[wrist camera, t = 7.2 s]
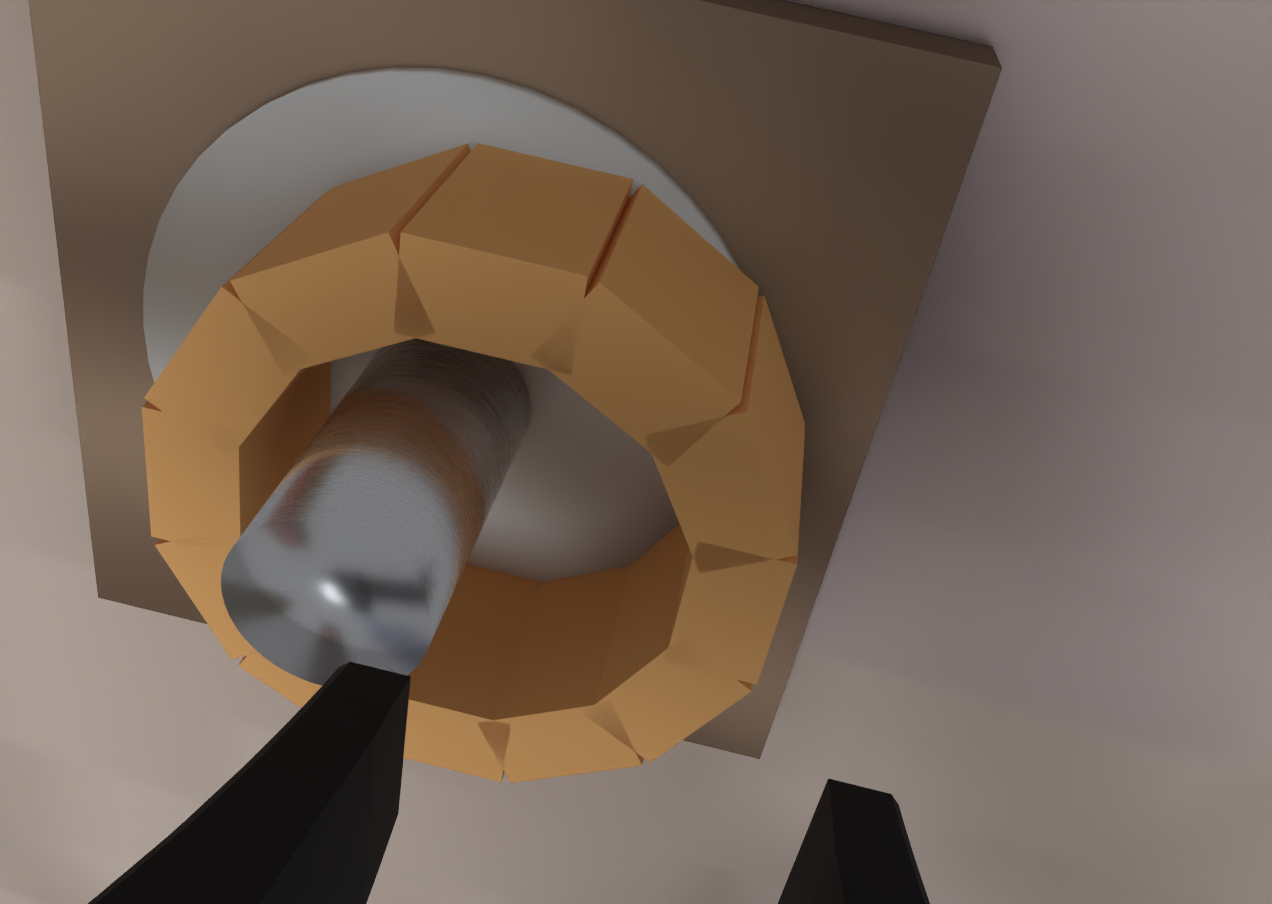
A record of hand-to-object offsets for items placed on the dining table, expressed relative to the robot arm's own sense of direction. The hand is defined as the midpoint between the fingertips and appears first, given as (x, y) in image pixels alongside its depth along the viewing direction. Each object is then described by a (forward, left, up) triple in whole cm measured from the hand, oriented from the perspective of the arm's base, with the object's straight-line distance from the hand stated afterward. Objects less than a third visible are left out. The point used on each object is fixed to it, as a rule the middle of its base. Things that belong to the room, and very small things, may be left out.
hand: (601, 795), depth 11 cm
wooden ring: (0, +2, -6) cm, 7 cm away
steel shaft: (0, +3, -8) cm, 8 cm away
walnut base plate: (0, +3, -8) cm, 8 cm away
